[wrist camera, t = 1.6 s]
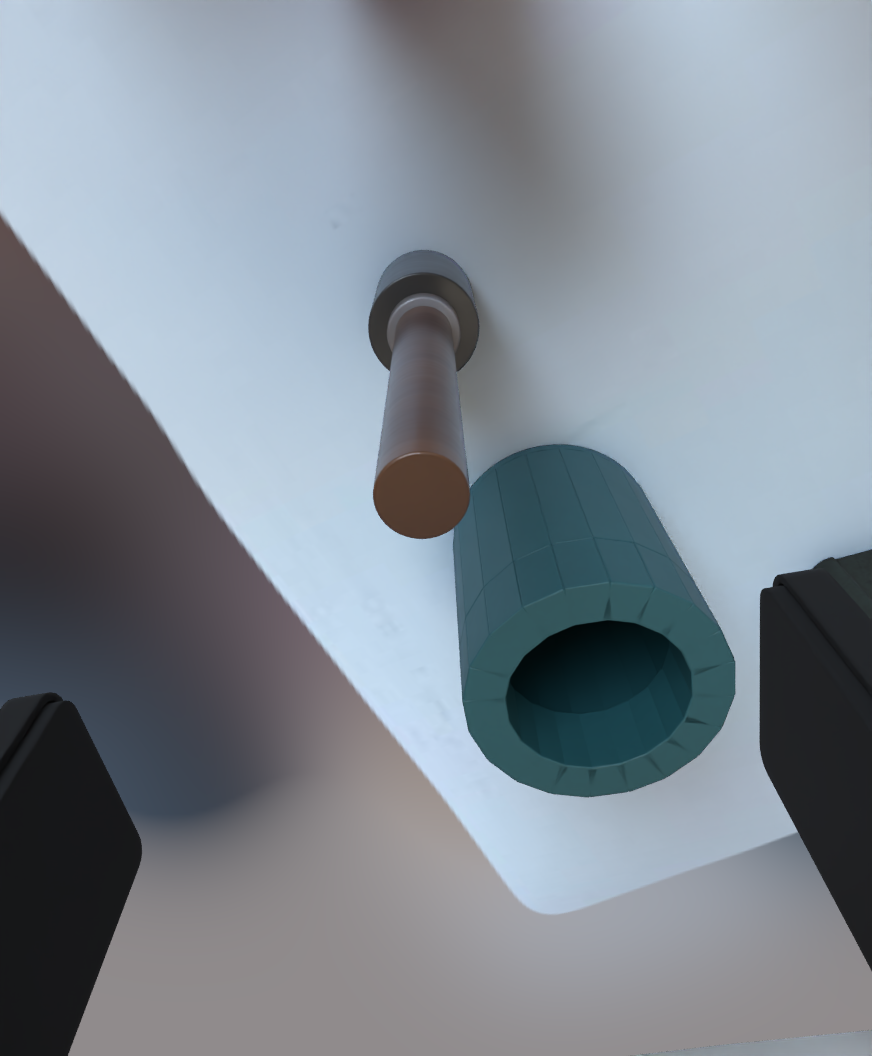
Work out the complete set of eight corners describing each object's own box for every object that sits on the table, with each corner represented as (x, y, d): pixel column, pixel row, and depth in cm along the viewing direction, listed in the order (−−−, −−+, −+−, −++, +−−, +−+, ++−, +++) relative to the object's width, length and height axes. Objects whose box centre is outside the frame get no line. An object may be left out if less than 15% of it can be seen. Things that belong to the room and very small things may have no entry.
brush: (366, 259, 32) (302, 423, 16) (464, 241, 32) (504, 387, 15) (386, 355, 34) (348, 593, 17) (479, 338, 34) (530, 564, 17)
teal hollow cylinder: (438, 462, 37) (442, 607, 26) (644, 427, 36) (735, 562, 25) (470, 629, 41) (485, 812, 30) (654, 601, 40) (736, 778, 30)
